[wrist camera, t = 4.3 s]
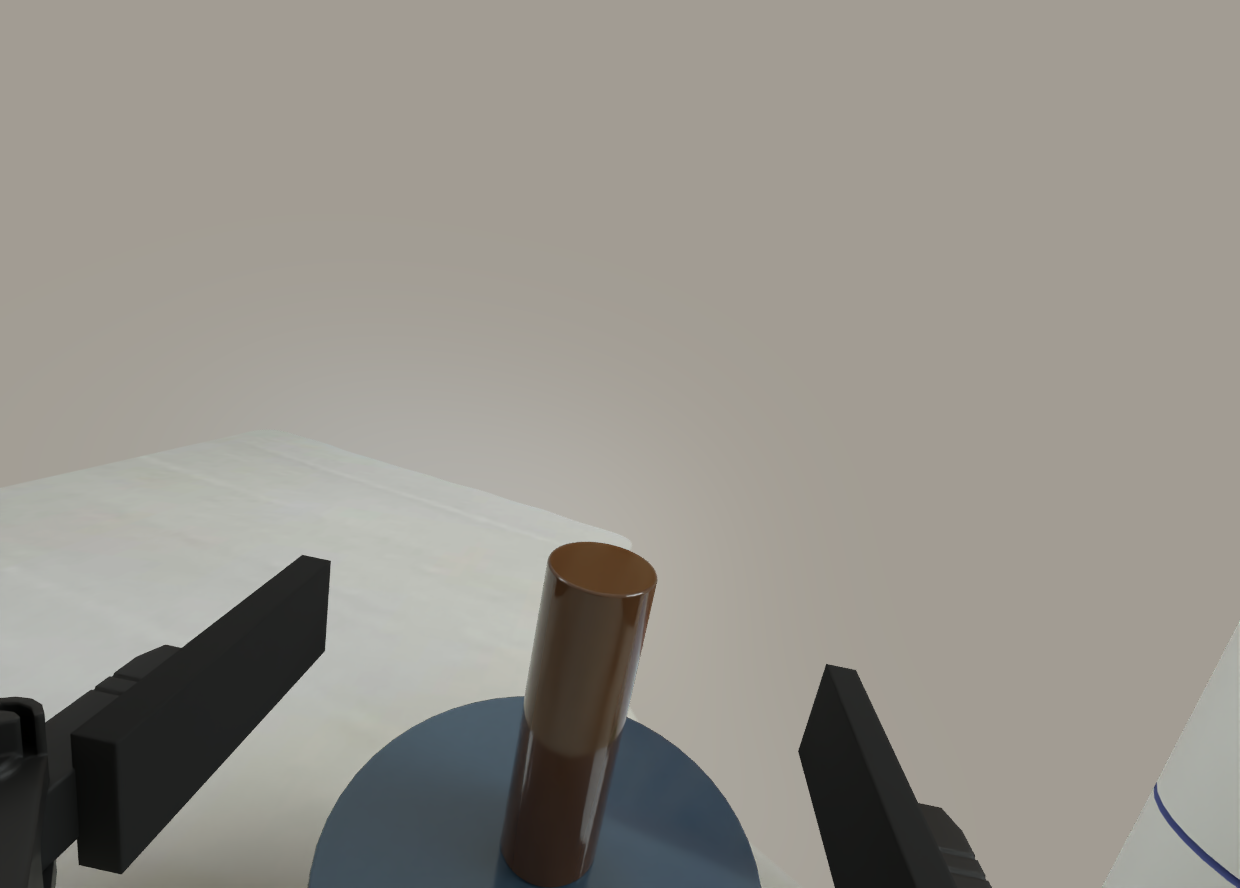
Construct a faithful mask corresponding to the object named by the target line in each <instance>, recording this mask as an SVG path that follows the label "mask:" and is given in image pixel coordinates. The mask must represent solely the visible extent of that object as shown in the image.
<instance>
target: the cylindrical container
mask: <svg viewBox="0 0 1240 888" xmlns="http://www.w3.org/2000/svg"><path fill="white" fill-rule="evenodd" d="M1102 888H1240V621H1239V623H1238V625H1237V627H1236V629H1235V631H1234V633H1233V634H1232V637H1231V638H1230V640H1229V642H1228V644H1227V646H1226V648H1225V650H1224V652H1223V654H1222V656H1221V658H1220V660H1219V662H1218V664H1217V666H1216V668H1215V669H1214V671H1213V673H1212V675H1211V677H1210V679H1209V681H1208V683H1207V685H1206V687H1205V689H1204V691H1203V693H1202V695H1201V697H1200V699H1199V701H1198V703H1197V704H1196V706H1195V708H1194V710H1193V712H1192V714H1191V716H1190V718H1189V720H1188V722H1187V724H1186V726H1185V728H1184V730H1183V732H1182V734H1181V736H1180V738H1179V739H1178V741H1177V743H1176V745H1175V747H1174V749H1173V751H1172V753H1171V755H1170V757H1169V759H1168V761H1167V763H1166V765H1165V767H1164V769H1163V771H1162V773H1161V775H1160V776H1159V778H1158V780H1157V783H1156V785H1155V787H1154V788H1153V790H1152V792H1151V794H1150V796H1149V798H1148V800H1147V802H1146V803H1145V805H1144V807H1143V809H1142V811H1141V813H1140V815H1139V817H1138V819H1137V821H1136V823H1135V825H1134V827H1133V828H1132V830H1131V832H1130V834H1129V836H1128V838H1127V840H1126V842H1125V844H1124V846H1123V848H1122V850H1121V852H1120V854H1119V856H1118V857H1117V859H1116V861H1115V863H1114V865H1113V867H1112V869H1111V871H1110V873H1109V875H1108V877H1107V879H1106V881H1105V882H1104V884H1103V886H1102Z"/></svg>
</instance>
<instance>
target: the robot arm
mask: <svg viewBox="0 0 1240 888" xmlns="http://www.w3.org/2000/svg"><path fill="white" fill-rule="evenodd" d="M330 564H331V561H329V560H324V559H319V558H314V557H309V556H305V555H302V556H300V557H299V558H298V559H297V560H295V561H294V562H293V563H291V564H290V565H289V566H287V567H286V568H285V569H284V570H282V571H281V572H280V573H278V574H277V575H276V576H274V577H273V578H272V579H271V580H269V581H268V582H267V583H265V584H264V585H263V586H262V587H260V588H259V589H258V590H256V591H255V592H254V593H252V594H251V595H250V596H249V597H247V598H246V599H245V600H243V601H242V602H241V603H239V604H238V605H237V606H236V607H234V608H233V609H232V610H230V611H229V612H228V613H226V614H225V615H224V616H223V617H221V618H220V619H219V620H217V621H216V622H215V623H213V624H212V625H211V626H210V627H208V628H207V629H206V630H204V631H203V632H202V633H200V634H199V635H198V636H197V637H195V638H194V639H193V640H191V641H190V642H189V643H187V644H186V645H185V646H184V647H182V648H179V647H174V646H169V645H163V646H161V647H159V648H156V649H154V650H152V651H149V652H147V653H144V654H142V655H140V656H137V657H136V658H134V659H133V660H131V661H130V662H129V663H127V664H126V665H125V666H123V667H122V668H120V669H119V670H118V671H116V672H115V673H114V675H113V676H112V677H111V676H109V677H108V678H107V679H105V680H104V681H102V682H101V683H100V684H98V685H97V686H96V687H95V689H94V690H90V691H89V692H87V693H86V694H84V695H83V696H82V697H80V698H79V699H77V700H76V701H75V702H73V703H72V704H71V705H69V706H68V707H66V708H65V709H64V710H62V711H61V712H59V713H58V714H57V715H55V716H54V717H52V718H51V719H50V720H48V721H47V722H46V723H45V716H44V710H43V707H42V704H40V703H38V702H37V701H35V700H33V699H30V698H22V697H8V698H0V888H55V884H56V876H57V869H56V858H57V857H59V856H60V855H61V854H62V853H63V852H64V851H65V850H66V849H67V848H68V847H69V846H70V845H71V844H72V843H73V842H74V841H75V840H76V839H77V844H78V860H79V865H82V866H86V867H91V868H95V869H100V870H104V871H109V872H113V873H118V874H122V873H123V872H124V871H125V870H126V869H127V868H128V867H129V866H130V865H131V863H132V862H133V861H134V860H135V859H136V858H137V857H138V856H139V855H140V854H141V852H142V851H143V850H144V849H145V848H146V847H147V846H148V845H149V844H150V843H151V841H152V840H153V839H154V838H155V837H156V836H157V835H158V834H159V833H160V832H161V830H162V829H163V828H164V827H165V826H166V825H167V824H168V823H169V822H170V821H171V819H172V818H173V817H174V816H175V815H176V814H177V813H178V812H179V811H180V810H181V809H182V807H183V806H184V805H185V804H186V803H187V802H188V801H189V800H190V799H191V798H192V796H193V795H194V794H195V793H196V792H197V791H198V790H199V789H200V788H201V787H202V785H203V784H204V783H205V782H206V781H207V780H208V779H209V778H210V777H211V776H212V774H213V773H214V772H215V771H216V770H217V769H218V768H219V767H220V766H221V765H222V763H223V762H224V761H225V760H226V759H227V758H228V757H229V756H230V755H231V754H232V752H233V751H234V750H235V749H236V748H237V747H238V746H239V745H240V744H241V743H242V741H243V740H244V739H245V738H246V737H247V736H248V735H249V734H250V733H251V732H252V730H253V729H254V728H255V727H256V726H257V725H258V724H259V723H260V722H261V721H262V720H263V718H264V717H265V716H266V715H267V714H268V713H269V712H270V711H271V710H272V709H273V707H274V706H275V705H276V704H277V703H278V702H279V701H280V700H281V699H282V698H283V696H284V695H285V694H286V693H287V692H288V691H289V690H290V689H291V688H292V687H293V685H294V684H295V683H296V682H297V681H298V680H299V679H300V678H301V677H302V676H303V674H304V673H305V672H306V671H307V670H308V669H309V668H310V667H311V666H312V665H313V663H314V662H315V661H316V660H317V659H318V658H319V657H320V656H321V655H322V654H323V652H324V651H325V640H326V625H327V610H328V594H329V579H330ZM798 752H799V756H800V759H801V763H802V767H803V771H804V774H805V778H806V782H807V785H808V789H809V793H810V797H811V800H812V803H813V808H814V811H815V815H816V819H817V823H818V826H819V830H820V834H821V837H822V841H823V845H824V849H825V852H826V856H827V860H828V863H829V867H830V871H831V875H832V878H833V882H834V886H835V888H992V887H991V885H990V883H989V882H988V881H986V879H985V874H984V872H983V870H982V868H981V866H980V864H979V862H978V860H975V855H974V853H973V851H972V849H971V847H970V845H969V843H968V841H967V839H966V838H965V836H964V834H963V832H962V830H961V829H960V828H959V827H958V826H957V825H956V824H955V823H954V822H953V821H952V819H951V818H950V817H949V816H948V815H947V814H946V813H945V812H944V811H943V810H942V808H939V807H934V806H929V805H925V804H920V803H918V802H917V800H916V798H915V796H914V793H913V791H912V789H911V787H910V785H909V783H908V781H907V779H906V776H905V774H904V772H903V770H902V768H901V766H900V764H899V762H898V759H897V757H896V755H895V753H894V751H893V749H892V746H891V744H890V742H889V740H888V738H887V736H886V734H885V731H884V729H883V727H882V725H881V723H880V721H879V719H878V717H877V714H876V712H875V710H874V708H873V706H872V704H871V702H870V700H869V697H868V695H867V693H866V691H865V689H864V687H863V685H862V682H861V681H860V678H859V676H858V674H857V672H856V670H852V669H848V668H843V667H838V666H833V665H828V664H826V667H825V670H824V673H823V676H822V679H821V682H820V686H819V689H818V692H817V695H816V698H815V701H814V704H813V707H812V710H811V714H810V717H809V720H808V723H807V726H806V729H805V732H804V735H803V738H802V742H801V744H800V748H799V751H798Z"/></svg>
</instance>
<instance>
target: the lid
mask: <svg viewBox="0 0 1240 888" xmlns="http://www.w3.org/2000/svg"><path fill="white" fill-rule="evenodd" d="M656 584H657V575H656V572H655V570H654V568H653V567H652V566H651V565H650V564H649V563H648V562H647V561H646V560H645V559H644V558H642V557H640V556H639V555H637V554H635V553H633V552H631V551H629V550H626V549H623V548H621V547H617V546H614V545H609V544H604V543H597V542H576V543H570V544H566V545H563V546H560V547H558V548H557V549H555V550H554V551H553V552H552V553H551V554H550V556H549V557H548V561H547V567H546V573H545V579H544V585H543V590H542V596H541V602H540V608H539V614H538V620H537V626H536V632H535V637H534V643H533V649H532V655H531V661H530V667H529V673H528V679H527V685H526V690H525V696H517V697H506V698H496V699H490V700H485V701H480V702H474V703H471V704H467V705H464V706H460V707H457V708H453V709H451V710H448V711H446V712H443V713H441V714H438V715H436V716H433V717H431V718H429V719H427V720H425V721H423V722H421V723H419V724H418V725H416V726H414V727H412V728H410V729H409V730H407V731H406V732H404V733H403V734H401V735H400V736H398V737H397V738H395V739H394V740H392V741H391V742H390V743H388V744H387V745H386V746H385V747H384V748H382V749H381V750H380V751H379V752H378V753H376V754H375V755H374V756H373V757H372V758H371V759H370V760H369V761H368V762H367V763H366V764H365V765H364V766H363V768H362V769H361V770H360V771H359V772H358V773H357V774H356V775H355V776H354V778H353V779H352V780H351V782H350V783H349V784H348V786H347V787H346V789H345V790H344V791H343V793H342V794H341V795H340V797H339V799H338V800H337V802H336V804H335V806H334V808H333V809H332V811H331V813H330V815H329V817H328V818H327V820H326V823H325V825H324V828H323V830H322V833H321V835H320V838H319V840H318V843H317V845H316V849H315V854H314V858H313V862H312V866H311V870H310V874H309V885H308V888H761V885H760V880H759V875H758V870H757V865H756V862H755V859H754V856H753V853H752V850H751V847H750V844H749V841H748V839H747V837H746V835H745V833H744V830H743V828H742V826H741V824H740V822H739V820H738V818H737V817H736V815H735V813H734V811H733V810H732V808H731V806H730V805H729V803H728V802H727V800H726V798H725V797H724V796H723V795H722V793H721V792H720V791H719V789H718V788H717V787H716V785H715V784H714V783H713V781H712V780H711V779H710V778H709V777H708V776H707V775H706V774H705V773H704V771H703V770H702V769H701V768H700V767H699V766H698V765H697V764H696V763H695V762H694V761H693V760H691V759H690V758H689V757H688V756H687V755H686V754H684V753H683V752H682V751H681V750H680V749H679V748H677V747H676V746H675V745H673V744H672V743H671V742H669V741H668V740H666V739H665V738H664V737H662V736H661V735H659V734H658V733H656V732H654V731H653V730H651V729H649V728H647V727H646V726H644V725H642V724H640V723H638V722H636V721H634V720H632V719H630V718H628V717H627V713H628V708H629V704H630V699H631V695H632V690H633V686H634V681H635V677H636V672H637V668H638V663H639V659H640V655H641V650H642V646H643V641H644V637H645V633H646V628H647V624H648V619H649V614H650V610H651V606H652V601H653V597H654V592H655V588H656Z"/></svg>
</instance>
